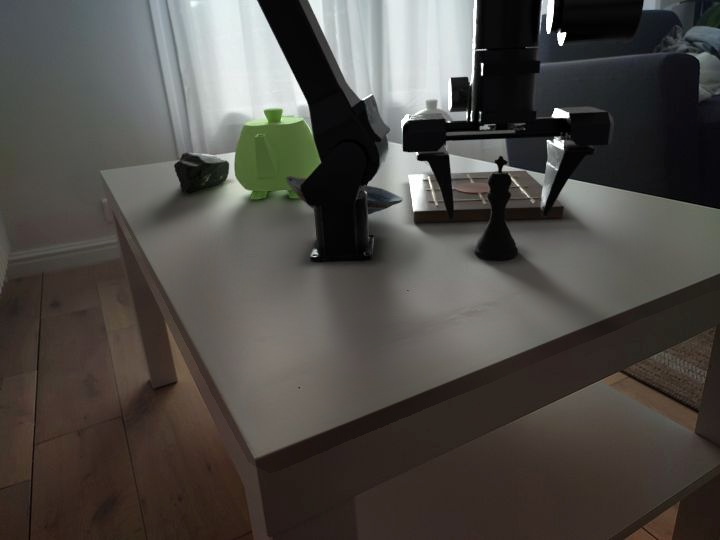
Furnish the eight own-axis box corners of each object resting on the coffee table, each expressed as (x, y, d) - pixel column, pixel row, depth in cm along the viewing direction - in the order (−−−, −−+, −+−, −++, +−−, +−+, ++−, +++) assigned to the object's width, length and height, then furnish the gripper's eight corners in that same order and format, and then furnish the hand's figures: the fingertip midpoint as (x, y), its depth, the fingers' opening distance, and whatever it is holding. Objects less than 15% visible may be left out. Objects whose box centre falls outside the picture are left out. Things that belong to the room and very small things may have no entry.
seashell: (276, 236, 63) (272, 195, 61) (292, 207, 75) (288, 171, 73) (404, 231, 63) (404, 189, 61) (400, 202, 74) (399, 166, 72)
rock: (162, 186, 90) (155, 152, 88) (207, 176, 96) (202, 144, 94) (192, 196, 84) (186, 160, 81) (239, 184, 89) (234, 150, 87)
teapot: (312, 208, 73) (304, 115, 68) (219, 210, 75) (204, 119, 70) (333, 176, 92) (327, 100, 87) (258, 178, 93) (248, 103, 88)
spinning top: (463, 173, 88) (465, 98, 84) (425, 180, 85) (425, 103, 80) (436, 166, 95) (436, 96, 90) (400, 172, 91) (398, 100, 87)
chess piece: (495, 242, 57) (500, 149, 54) (527, 254, 54) (535, 155, 50) (465, 251, 55) (467, 156, 52) (495, 264, 52) (501, 162, 48)
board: (562, 218, 64) (564, 205, 63) (413, 222, 65) (413, 210, 65) (524, 179, 82) (525, 169, 82) (408, 184, 84) (408, 174, 83)
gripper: (583, 43, 54) (567, 193, 60) (399, 53, 55) (402, 198, 61) (628, 43, 44) (603, 223, 50) (401, 55, 45) (404, 229, 51)
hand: (496, 216), depth 53 cm, fingers open, 9 cm apart
